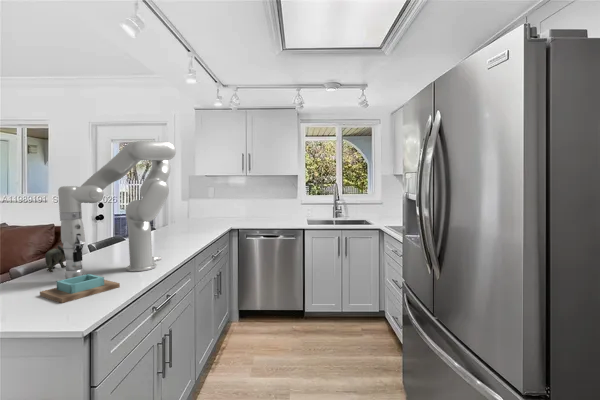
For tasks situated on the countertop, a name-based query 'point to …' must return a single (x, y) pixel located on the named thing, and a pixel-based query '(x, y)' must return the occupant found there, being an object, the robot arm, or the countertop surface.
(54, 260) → the dinosaur figurine
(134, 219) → the robot arm
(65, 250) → the silver aluminum bottle
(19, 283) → the countertop surface
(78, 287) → the walnut jig board
